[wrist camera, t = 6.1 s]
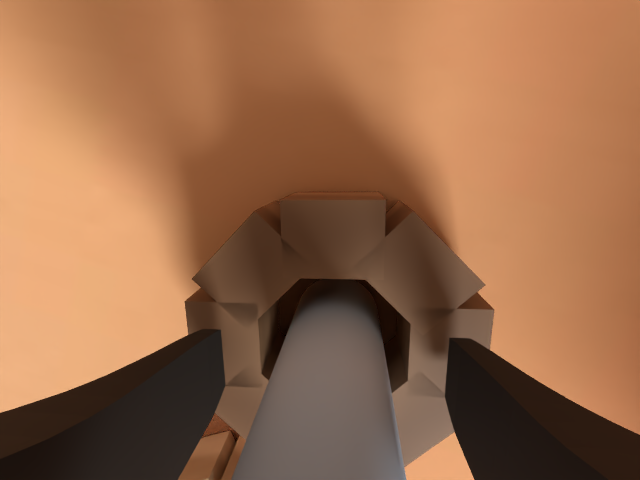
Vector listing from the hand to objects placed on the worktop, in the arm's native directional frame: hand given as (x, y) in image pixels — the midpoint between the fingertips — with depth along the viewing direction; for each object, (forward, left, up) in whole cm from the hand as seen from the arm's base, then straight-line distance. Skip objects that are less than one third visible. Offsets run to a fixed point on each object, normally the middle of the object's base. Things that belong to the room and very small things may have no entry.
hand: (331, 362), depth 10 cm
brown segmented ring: (0, 0, -4) cm, 4 cm away
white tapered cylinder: (0, 0, -4) cm, 4 cm away
